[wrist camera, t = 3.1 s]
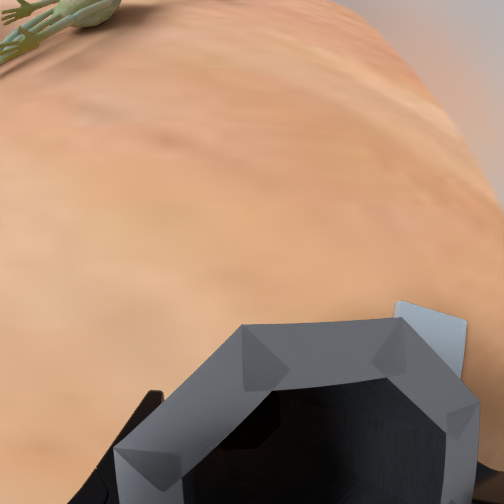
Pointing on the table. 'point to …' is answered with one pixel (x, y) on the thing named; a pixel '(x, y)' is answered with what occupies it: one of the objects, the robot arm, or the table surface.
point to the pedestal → (437, 332)
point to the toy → (52, 22)
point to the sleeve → (311, 423)
